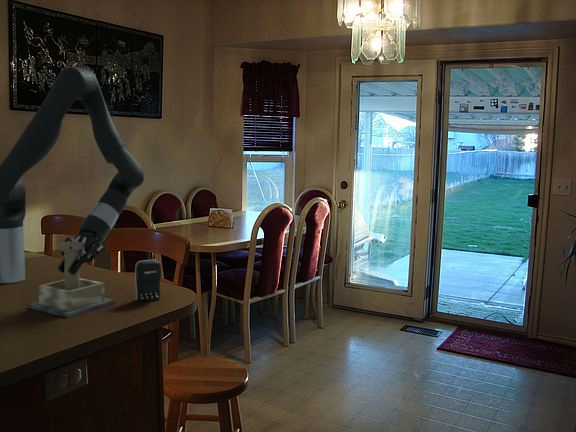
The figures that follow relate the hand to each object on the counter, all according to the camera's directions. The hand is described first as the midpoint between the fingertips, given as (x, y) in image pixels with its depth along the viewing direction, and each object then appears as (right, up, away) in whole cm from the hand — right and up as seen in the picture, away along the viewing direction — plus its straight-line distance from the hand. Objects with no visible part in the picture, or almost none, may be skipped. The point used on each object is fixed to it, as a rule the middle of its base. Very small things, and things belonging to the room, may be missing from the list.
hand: (65, 271), depth 162 cm
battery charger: (+20, -9, +10) cm, 24 cm away
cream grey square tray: (+1, -10, +3) cm, 10 cm away
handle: (+1, -7, +3) cm, 8 cm away
